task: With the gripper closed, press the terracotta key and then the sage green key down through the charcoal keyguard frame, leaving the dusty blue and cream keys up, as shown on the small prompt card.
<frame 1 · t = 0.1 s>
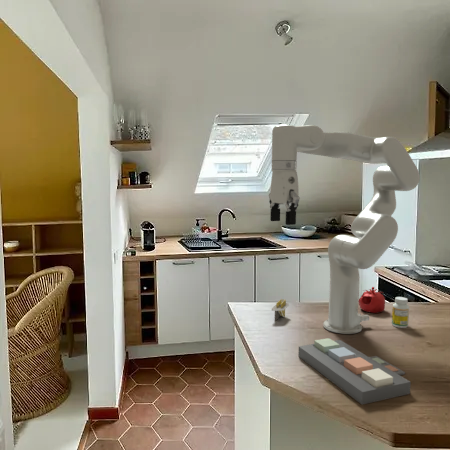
hand: (282, 222, 137), 37 cm above the counter, tool pointing down, fingers open, 9 cm apart
keyguard frame: (349, 373, 116), on the counter
pomegranate: (371, 310, 169), on the counter
terracotta key: (358, 367, 113), point 3 cm above the counter, slide at 0.0 cm
blue key: (341, 356, 119), point 3 cm above the counter, slide at 0.0 cm
sage key: (326, 346, 126), point 3 cm above the counter, slide at 0.0 cm
prompt card: (382, 366, 120), on the counter
platform: (280, 319, 159), on the counter
cream key: (376, 379, 106), point 3 cm above the counter, slide at 0.0 cm
supplement bottle: (399, 326, 153), on the counter
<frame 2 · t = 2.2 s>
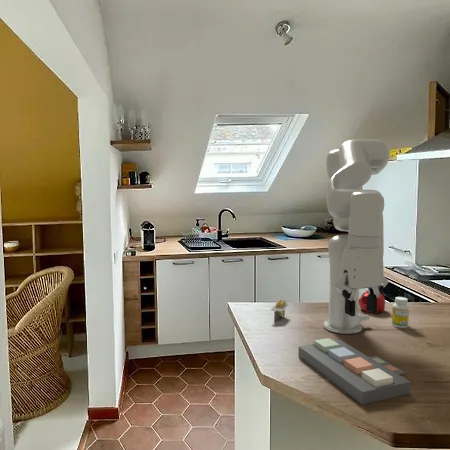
hand: (360, 312, 111), 18 cm above the counter, tool pointing down, fingers open, 5 cm apart
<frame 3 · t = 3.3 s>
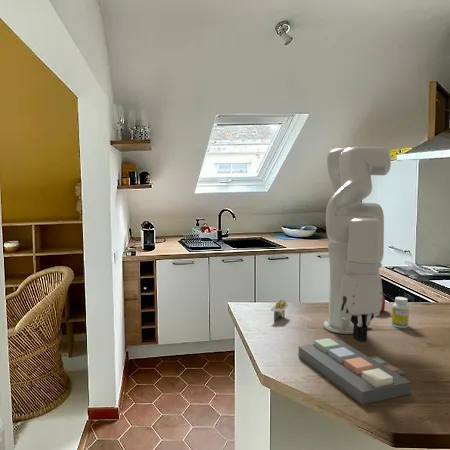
hand: (359, 340, 111), 11 cm above the counter, tool pointing down, fingers closed
nothing on the counter moved.
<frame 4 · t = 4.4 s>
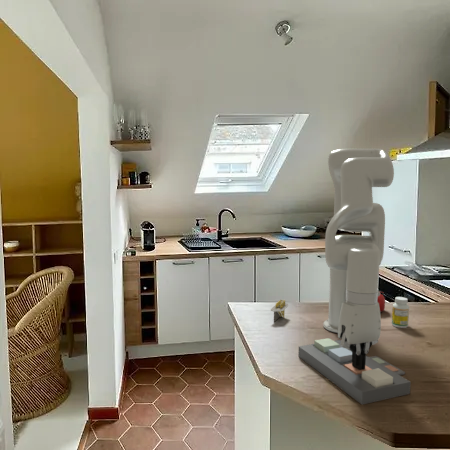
hand: (358, 367, 112), 3 cm above the counter, tool pointing down, fingers closed
terracotta key: (358, 372, 113), point 2 cm above the counter, slide at 1.3 cm, touching gripper
everything else where it was.
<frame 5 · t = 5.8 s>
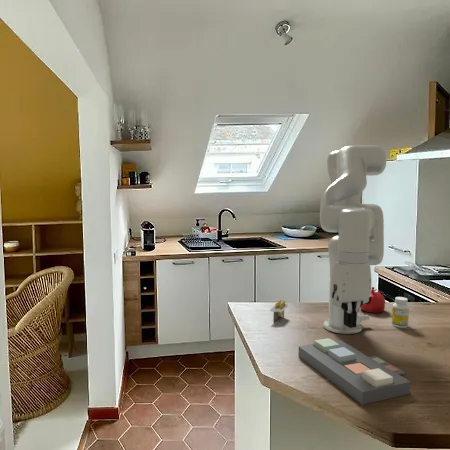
hand: (349, 325, 116), 13 cm above the counter, tool pointing down, fingers closed
terracotta key: (358, 373, 113), point 2 cm above the counter, slide at 1.5 cm
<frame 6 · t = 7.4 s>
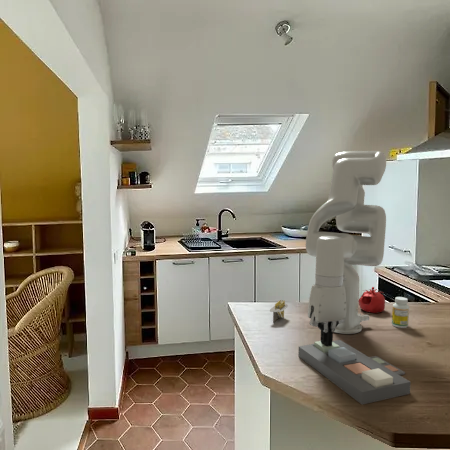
hand: (326, 344, 125), 4 cm above the counter, tool pointing down, fingers closed
sage key: (326, 348, 126), point 3 cm above the counter, slide at 0.5 cm, touching gripper
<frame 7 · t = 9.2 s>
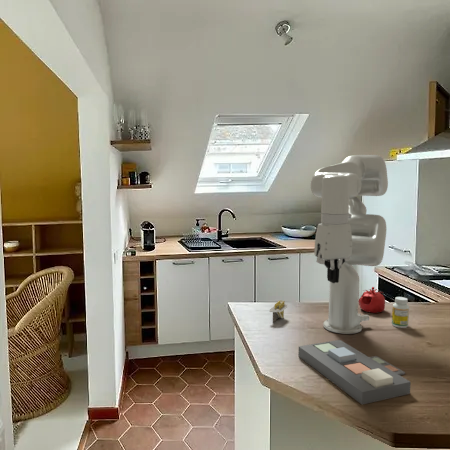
hand: (333, 281, 128), 21 cm above the counter, tool pointing down, fingers closed
sage key: (326, 352, 126), point 2 cm above the counter, slide at 1.5 cm
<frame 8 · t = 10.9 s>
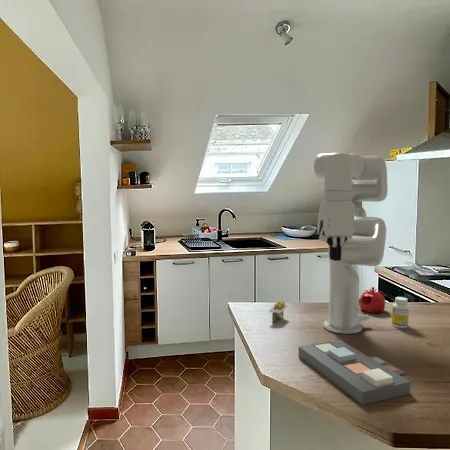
hand: (335, 259, 129), 27 cm above the counter, tool pointing down, fingers closed
at the end: terracotta key slide at 1.5 cm; sage key slide at 1.5 cm; blue key slide at 0.0 cm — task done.
